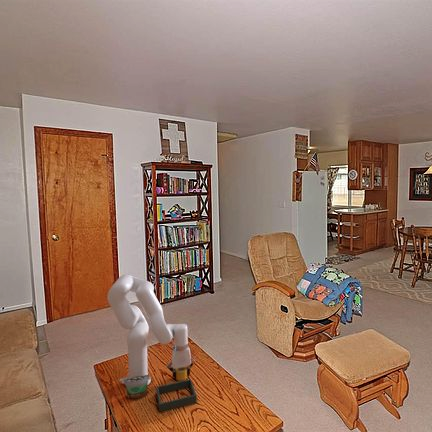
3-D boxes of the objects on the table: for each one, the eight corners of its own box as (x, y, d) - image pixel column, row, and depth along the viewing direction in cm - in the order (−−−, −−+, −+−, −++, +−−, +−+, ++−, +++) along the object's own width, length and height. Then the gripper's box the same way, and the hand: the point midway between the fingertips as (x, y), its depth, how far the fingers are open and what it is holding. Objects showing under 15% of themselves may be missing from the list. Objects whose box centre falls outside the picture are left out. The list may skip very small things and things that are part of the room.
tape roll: (176, 381, 189) (176, 373, 189) (174, 375, 195) (174, 367, 195) (188, 379, 192) (188, 370, 192) (186, 373, 198) (186, 364, 198)
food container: (124, 403, 170) (123, 384, 169) (123, 396, 176) (123, 378, 175) (150, 397, 176) (150, 378, 175) (149, 390, 181) (149, 372, 180)
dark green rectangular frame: (159, 412, 165) (159, 404, 164) (156, 393, 179) (156, 386, 178) (196, 402, 172) (196, 395, 172) (191, 385, 186) (190, 379, 186)
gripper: (165, 352, 185) (166, 383, 187) (197, 346, 192) (198, 376, 194) (163, 346, 191) (164, 376, 193) (195, 340, 199) (195, 369, 201)
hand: (181, 376), depth 194 cm, fingers closed on tape roll, 6 cm apart
